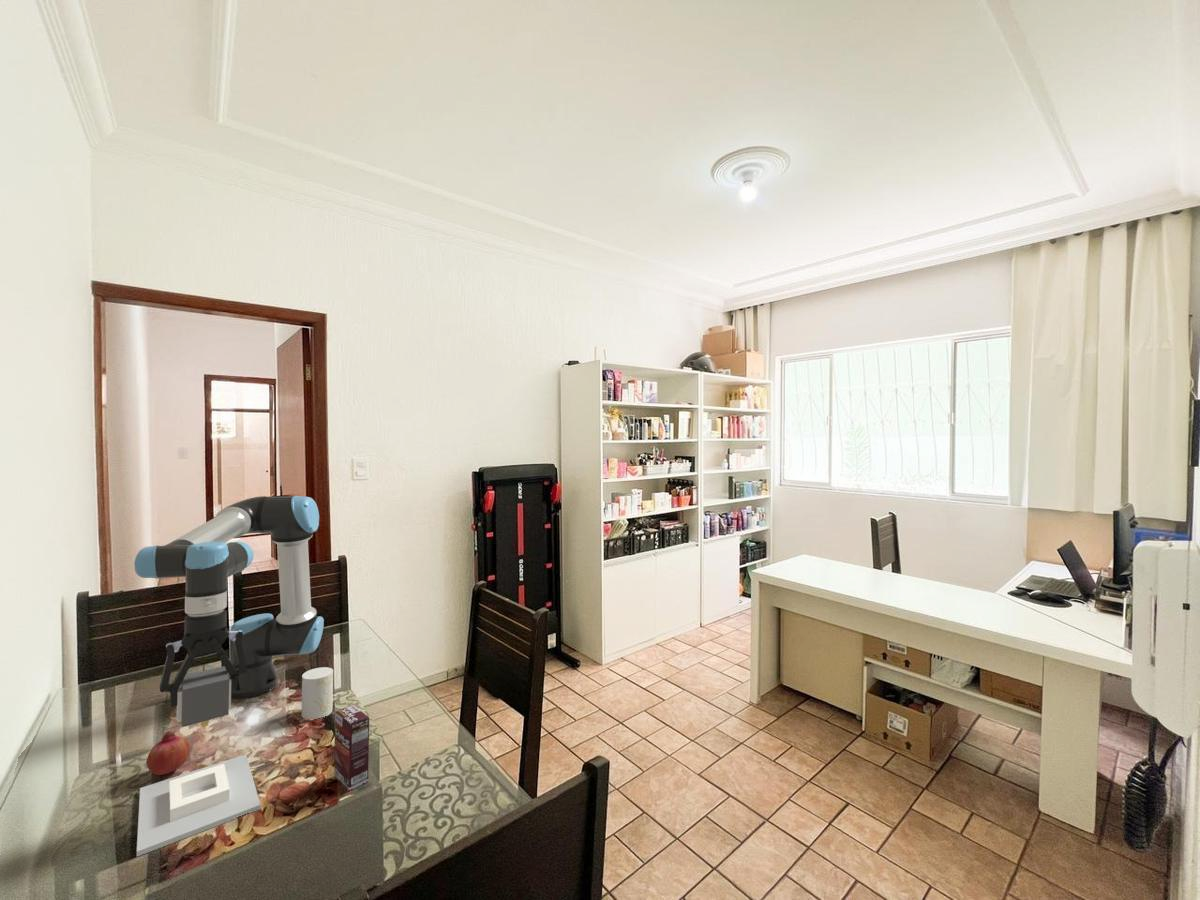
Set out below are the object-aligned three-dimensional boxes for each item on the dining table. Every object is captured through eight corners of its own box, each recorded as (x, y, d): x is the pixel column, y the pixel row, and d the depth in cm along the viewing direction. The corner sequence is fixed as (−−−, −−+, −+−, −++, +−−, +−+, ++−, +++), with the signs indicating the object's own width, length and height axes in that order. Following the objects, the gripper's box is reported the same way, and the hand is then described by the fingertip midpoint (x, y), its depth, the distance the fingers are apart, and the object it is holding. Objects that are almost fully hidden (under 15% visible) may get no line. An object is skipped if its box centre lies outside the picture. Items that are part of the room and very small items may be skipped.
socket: (140, 792, 115) (140, 777, 115) (246, 758, 128) (246, 744, 128) (136, 856, 97) (136, 838, 97) (260, 809, 110) (260, 793, 110)
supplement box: (332, 776, 121) (333, 711, 122) (353, 767, 125) (354, 703, 125) (348, 792, 116) (349, 723, 116) (369, 782, 120) (370, 715, 120)
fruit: (139, 787, 117) (140, 744, 117) (154, 767, 124) (154, 726, 124) (183, 778, 120) (183, 737, 120) (194, 759, 127) (195, 720, 127)
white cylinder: (318, 721, 146) (319, 680, 146) (294, 718, 147) (295, 677, 147) (338, 707, 154) (339, 668, 154) (315, 704, 155) (316, 666, 155)
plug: (180, 720, 114) (181, 675, 114) (224, 708, 119) (224, 666, 119) (182, 737, 107) (183, 689, 107) (228, 724, 112) (229, 679, 112)
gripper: (143, 626, 104) (141, 736, 103) (263, 606, 117) (262, 703, 117) (144, 617, 109) (141, 721, 109) (258, 599, 123) (257, 692, 123)
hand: (204, 712), depth 113 cm, fingers closed on plug, 8 cm apart
